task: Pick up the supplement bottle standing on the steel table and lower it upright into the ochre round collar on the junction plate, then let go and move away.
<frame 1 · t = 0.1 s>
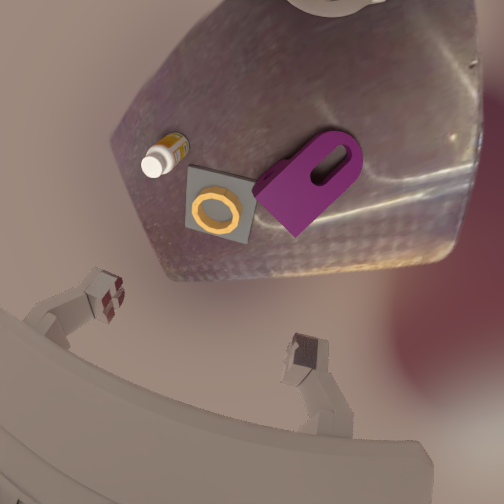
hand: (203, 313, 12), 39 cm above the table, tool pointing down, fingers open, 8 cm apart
supplement bottle: (177, 144, 49), on the table
mounting bracket: (312, 167, 47), on the table
junction plate: (220, 204, 56), on the table
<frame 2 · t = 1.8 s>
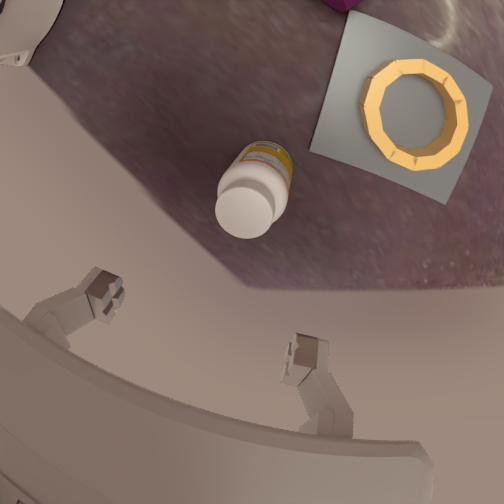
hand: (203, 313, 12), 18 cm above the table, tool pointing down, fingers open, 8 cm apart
supplement bottle: (265, 165, 27), on the table
junction plate: (407, 109, 20), on the table
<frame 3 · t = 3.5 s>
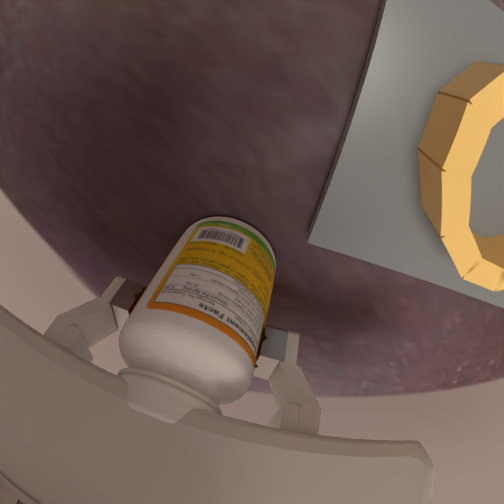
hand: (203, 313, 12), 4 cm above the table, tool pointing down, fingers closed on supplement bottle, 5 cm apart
supplement bottle: (228, 255, 15), on the table, touching gripper
junction plate: (494, 161, 9), on the table
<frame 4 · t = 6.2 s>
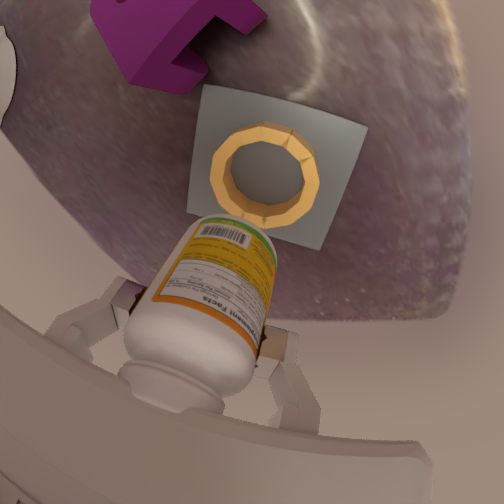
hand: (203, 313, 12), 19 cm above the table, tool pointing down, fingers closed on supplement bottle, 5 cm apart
supplement bottle: (230, 251, 16), point 14 cm above the table, touching gripper
mounting bracket: (171, 4, 18), on the table
junction plate: (268, 167, 27), on the table
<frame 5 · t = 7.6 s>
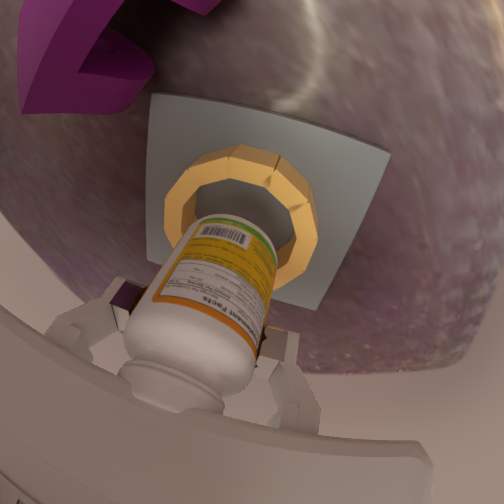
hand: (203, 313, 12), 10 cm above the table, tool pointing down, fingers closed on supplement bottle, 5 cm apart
supplement bottle: (230, 252, 16), point 5 cm above the table, touching gripper
junction plate: (247, 207, 20), on the table
when the fingers open (6 cm above the table, at t = 8.7 s): supplement bottle moves 1 cm, resting on junction plate.
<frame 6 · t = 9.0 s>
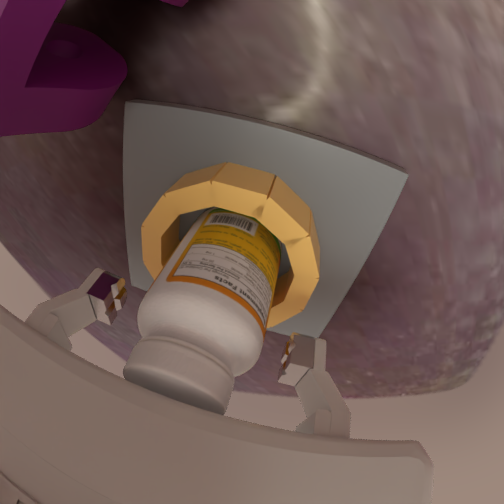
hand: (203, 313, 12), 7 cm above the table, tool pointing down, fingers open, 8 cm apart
supplement bottle: (237, 241, 17), point 1 cm above the table, touching junction plate
junction plate: (239, 233, 17), on the table
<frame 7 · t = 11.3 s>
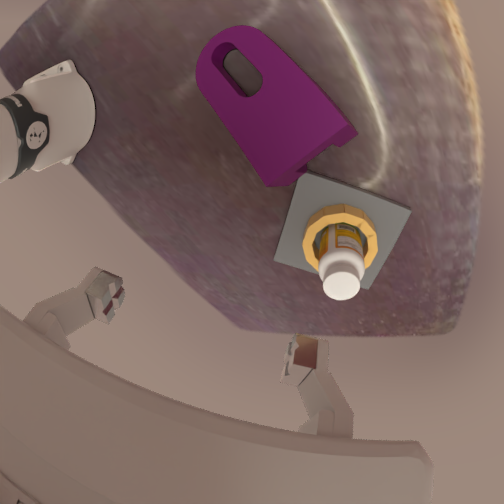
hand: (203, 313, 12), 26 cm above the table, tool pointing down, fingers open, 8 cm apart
supplement bottle: (340, 236, 36), point 1 cm above the table, touching junction plate
mounting bracket: (270, 91, 29), on the table
junction plate: (340, 233, 37), on the table
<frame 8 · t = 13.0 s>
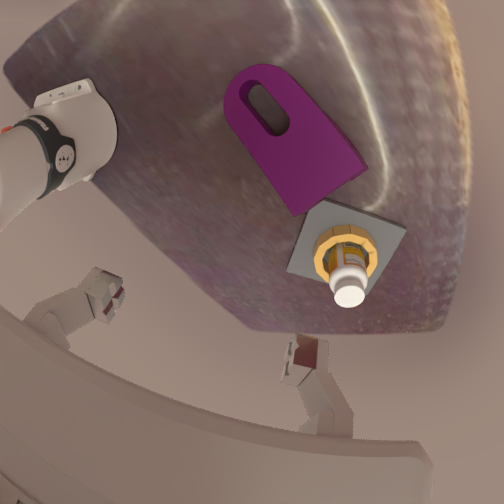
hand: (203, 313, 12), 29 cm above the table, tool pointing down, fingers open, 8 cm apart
supplement bottle: (345, 251, 42), point 1 cm above the table, touching junction plate
mounting bracket: (290, 124, 34), on the table
junction plate: (344, 247, 43), on the table
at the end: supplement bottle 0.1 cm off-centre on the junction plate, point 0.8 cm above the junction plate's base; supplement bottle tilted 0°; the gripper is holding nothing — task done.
